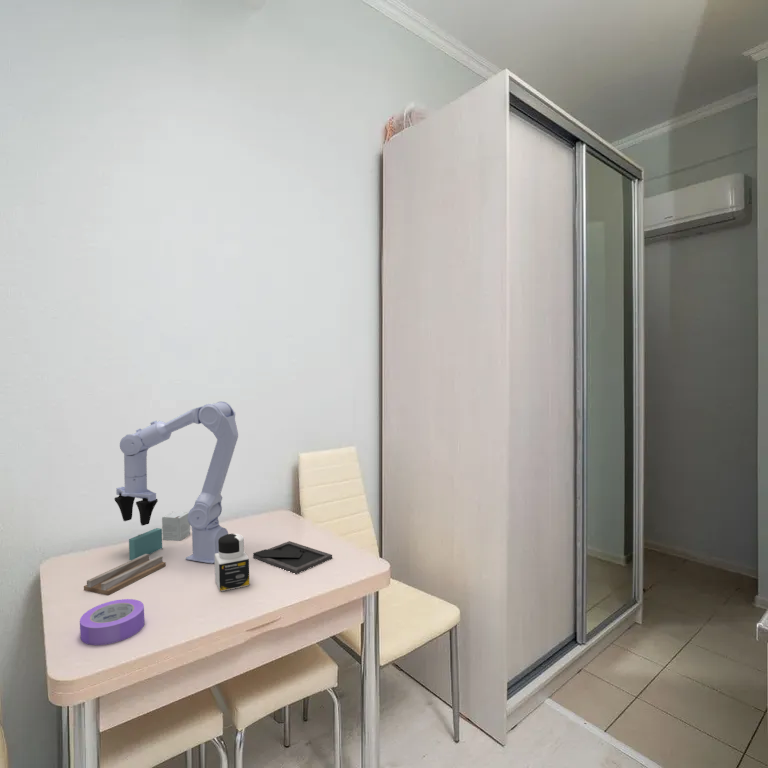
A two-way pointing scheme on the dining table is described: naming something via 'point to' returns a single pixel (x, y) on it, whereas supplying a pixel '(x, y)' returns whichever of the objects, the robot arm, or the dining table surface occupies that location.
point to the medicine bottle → (231, 563)
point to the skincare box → (175, 526)
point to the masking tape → (112, 622)
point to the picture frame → (292, 557)
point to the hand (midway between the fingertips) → (136, 522)
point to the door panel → (145, 543)
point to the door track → (124, 574)
